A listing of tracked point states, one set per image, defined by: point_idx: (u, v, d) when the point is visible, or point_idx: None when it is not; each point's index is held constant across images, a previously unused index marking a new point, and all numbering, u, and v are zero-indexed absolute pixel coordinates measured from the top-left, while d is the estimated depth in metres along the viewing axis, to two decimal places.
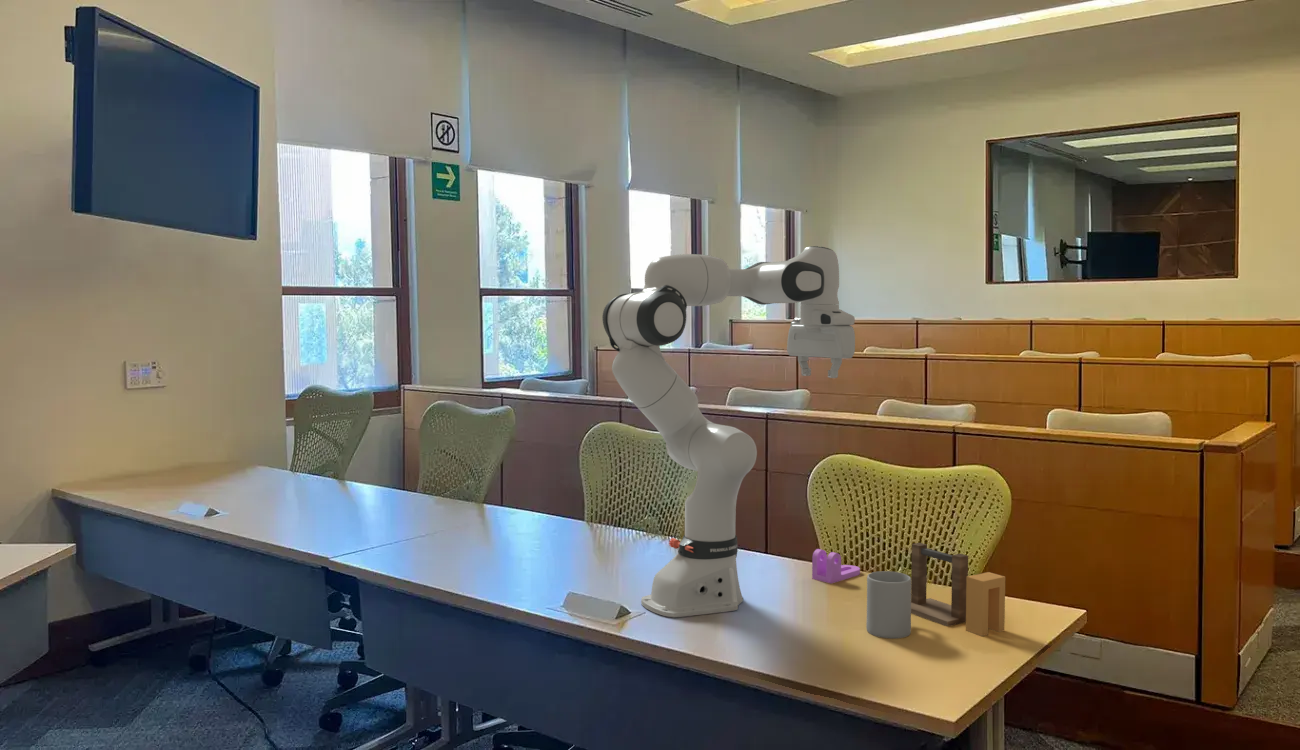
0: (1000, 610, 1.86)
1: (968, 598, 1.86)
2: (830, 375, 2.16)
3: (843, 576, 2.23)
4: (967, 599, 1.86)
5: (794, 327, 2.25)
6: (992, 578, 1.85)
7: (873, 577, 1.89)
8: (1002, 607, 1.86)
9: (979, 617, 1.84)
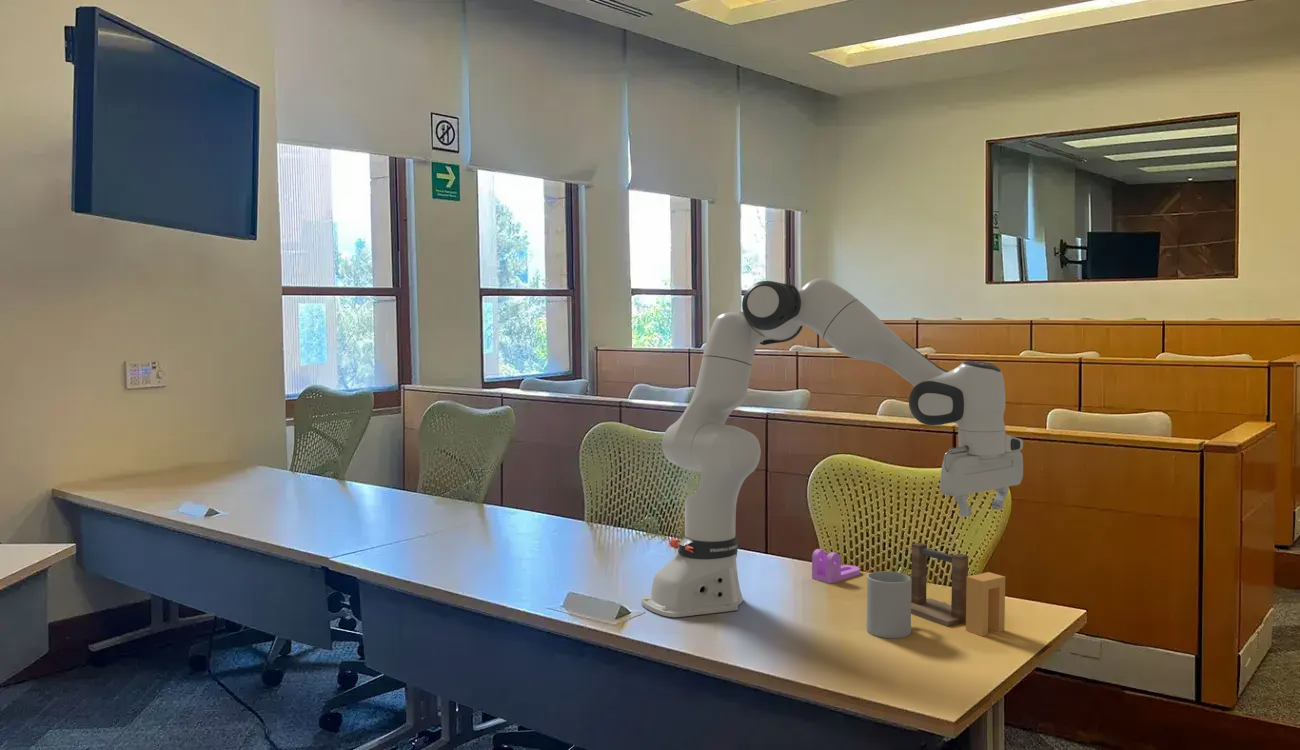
0: (1000, 610, 1.86)
1: (968, 598, 1.86)
2: (1002, 506, 1.89)
3: (843, 576, 2.23)
4: (967, 599, 1.86)
5: (963, 461, 1.82)
6: (992, 578, 1.85)
7: (873, 577, 1.89)
8: (1002, 607, 1.86)
9: (979, 617, 1.84)
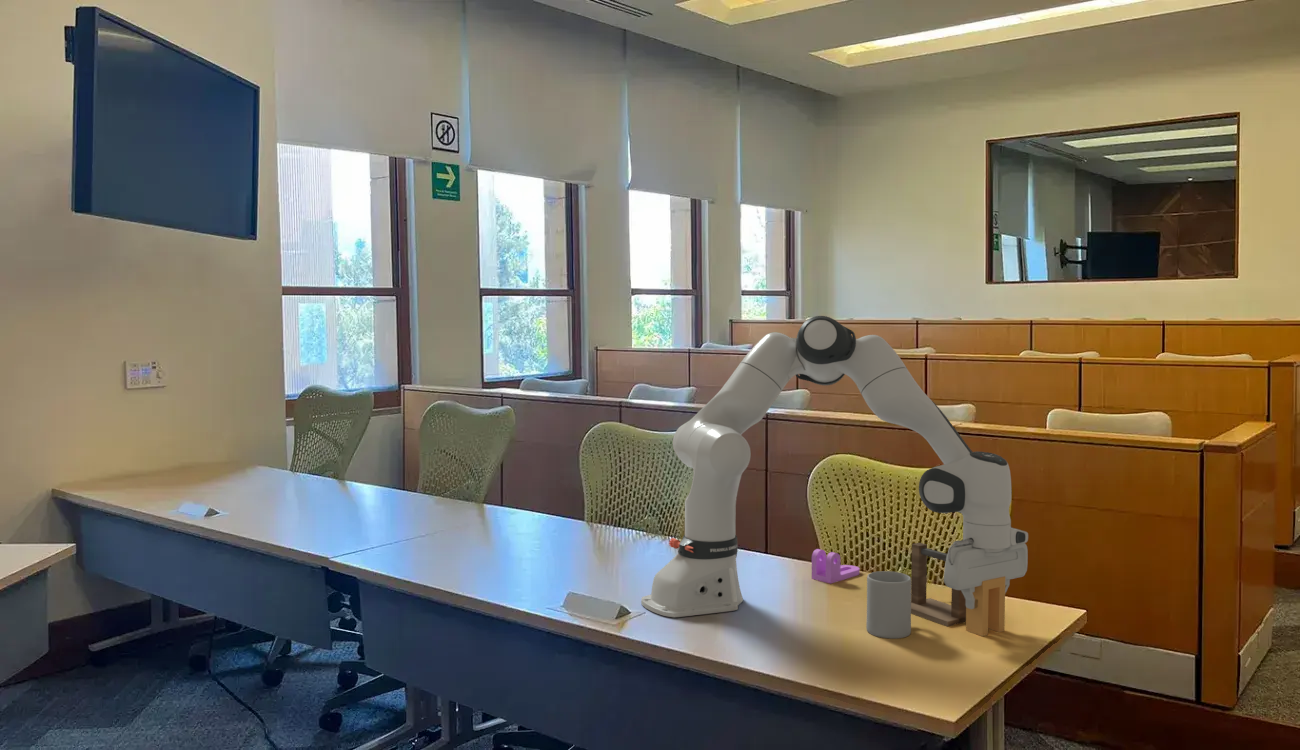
0: (1000, 610, 1.86)
1: None
2: None
3: (842, 576, 2.23)
4: None
5: (968, 554, 1.80)
6: None
7: (873, 577, 1.89)
8: (1002, 607, 1.86)
9: (980, 617, 1.84)
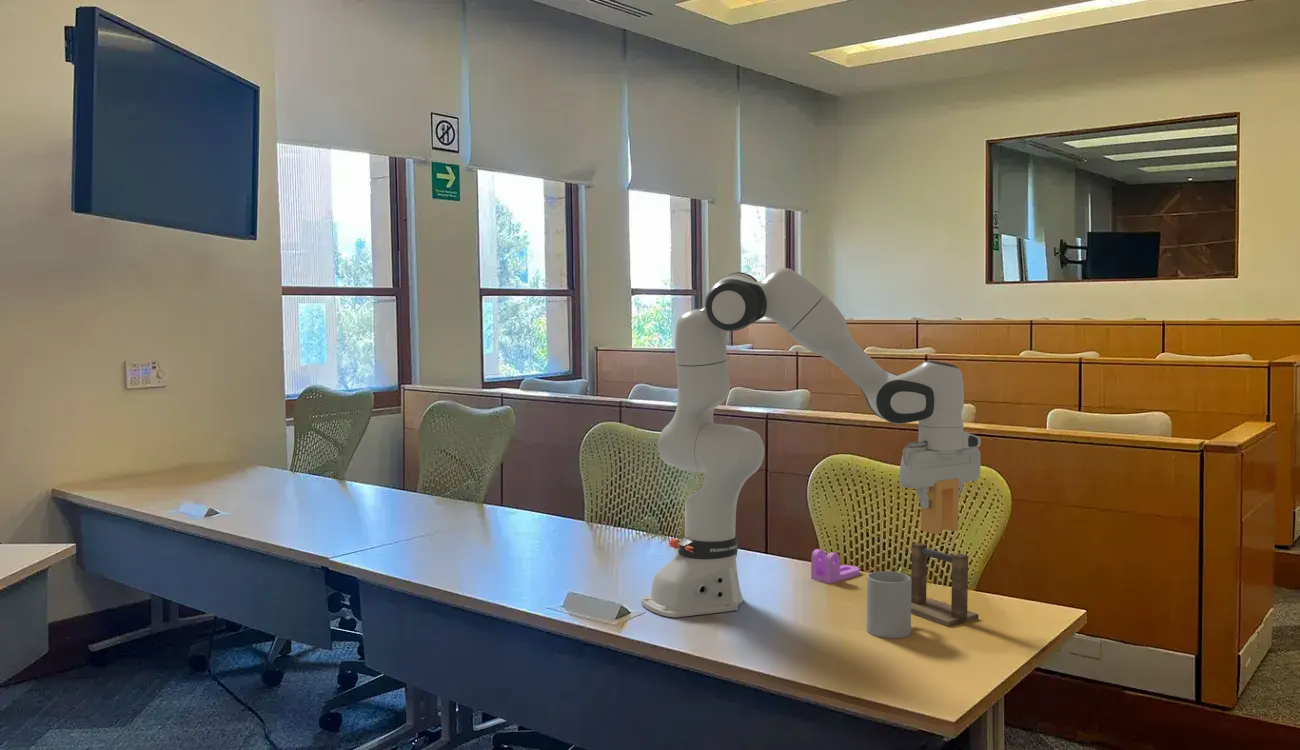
0: (954, 510, 1.95)
1: None
2: None
3: (842, 576, 2.23)
4: None
5: (922, 454, 1.90)
6: None
7: (873, 577, 1.89)
8: (956, 508, 1.95)
9: (933, 516, 1.93)
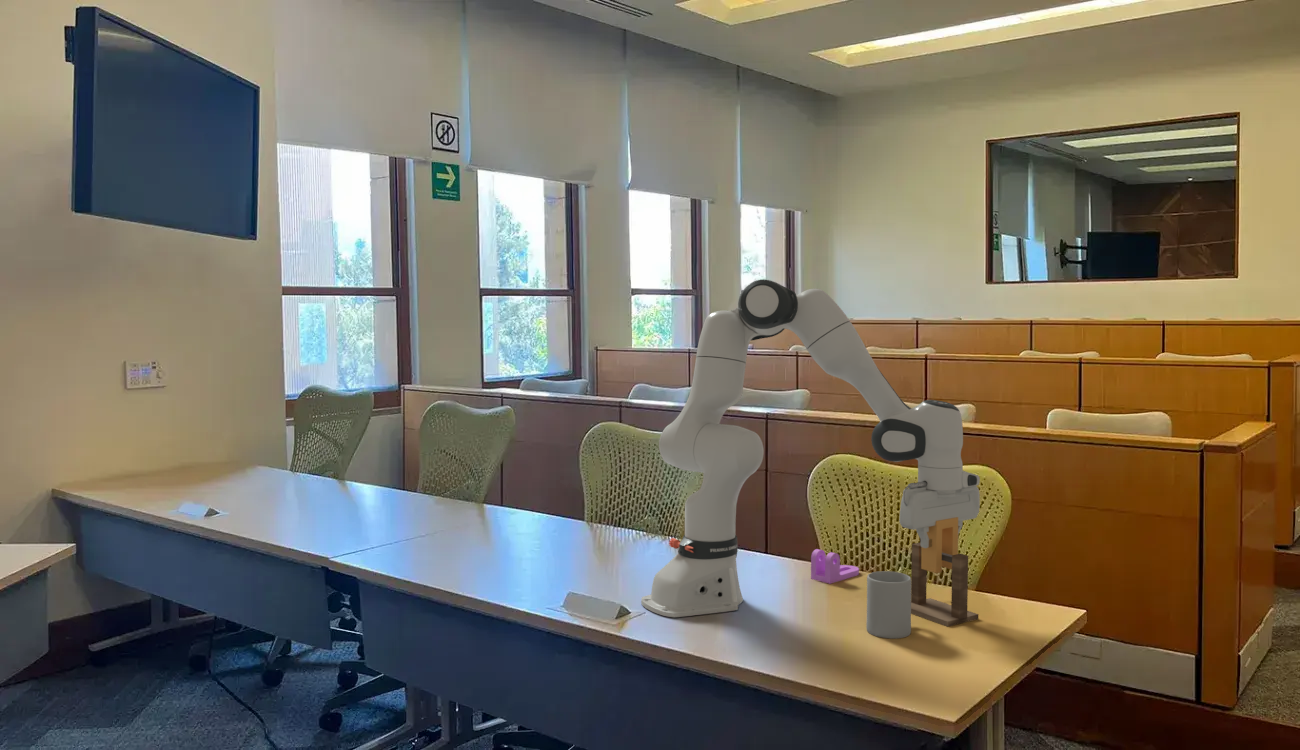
0: (953, 549, 1.96)
1: None
2: None
3: (842, 576, 2.23)
4: None
5: (922, 495, 1.91)
6: None
7: (873, 577, 1.89)
8: (955, 546, 1.96)
9: (934, 555, 1.94)
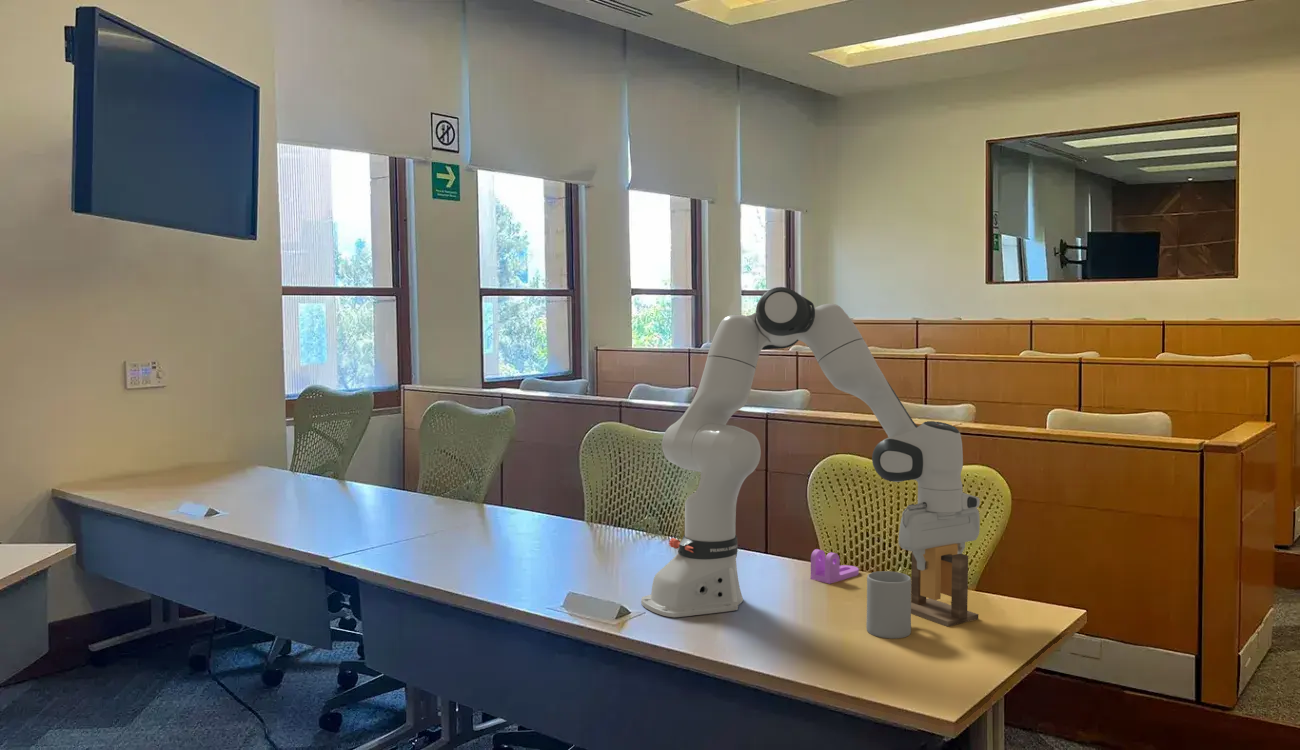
0: None
1: None
2: None
3: (841, 576, 2.23)
4: None
5: (921, 517, 1.90)
6: (945, 545, 1.95)
7: (873, 577, 1.89)
8: None
9: (932, 582, 1.94)
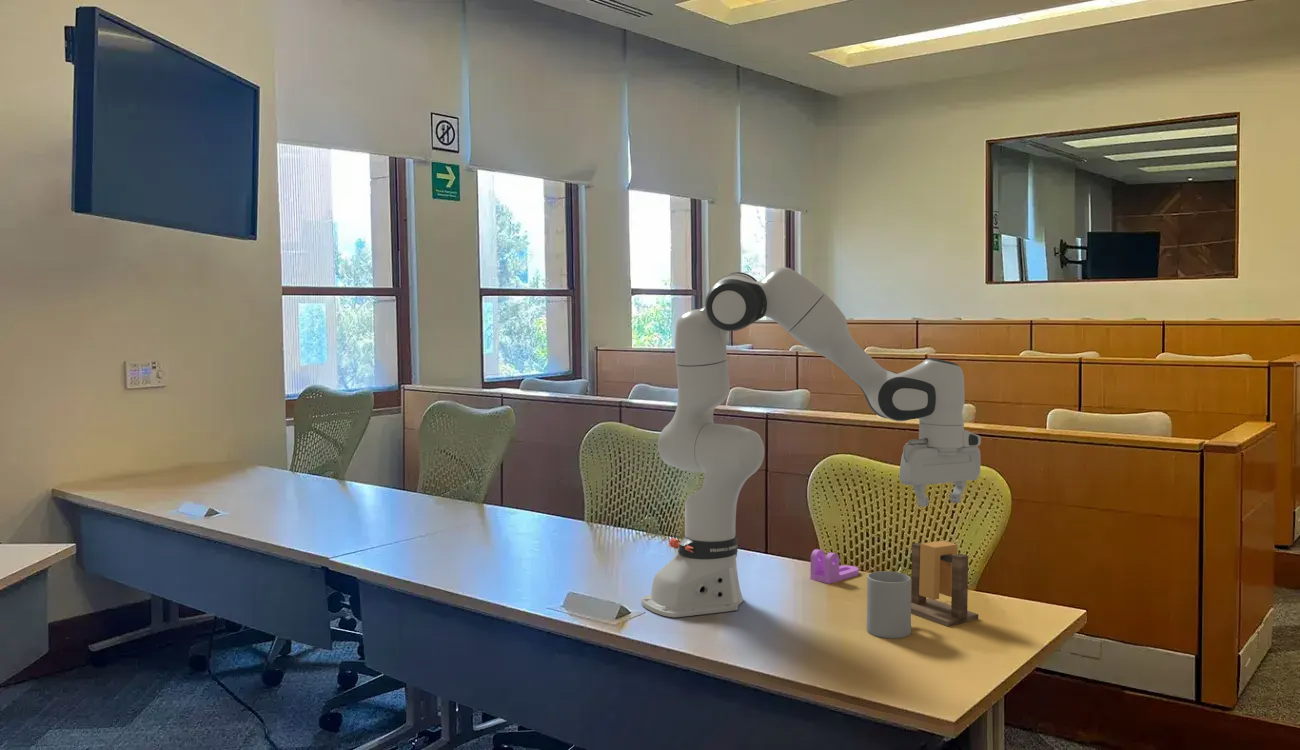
0: None
1: (921, 564, 1.96)
2: (959, 500, 1.97)
3: (841, 576, 2.23)
4: (921, 565, 1.96)
5: (922, 452, 1.90)
6: (944, 545, 1.95)
7: (873, 577, 1.89)
8: None
9: (931, 582, 1.94)
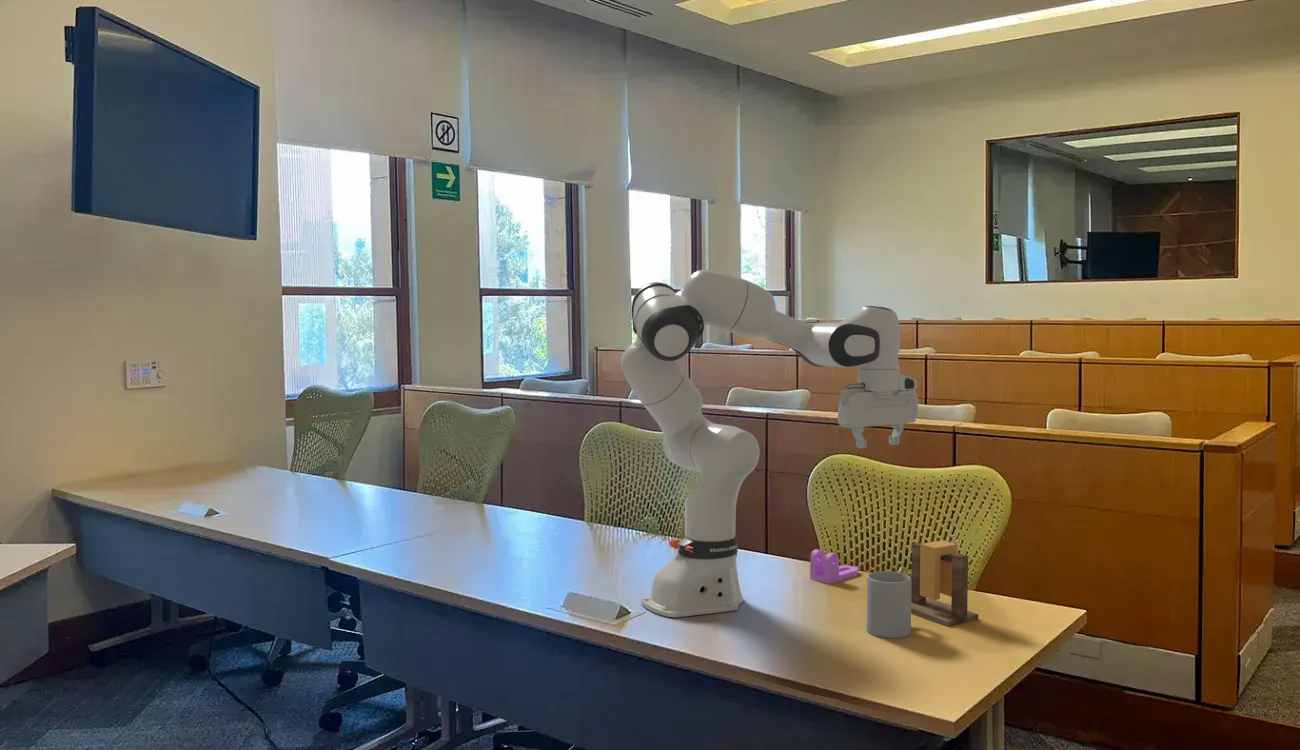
0: None
1: (922, 564, 1.96)
2: (897, 442, 2.05)
3: (841, 576, 2.23)
4: (921, 565, 1.96)
5: (859, 395, 1.98)
6: (944, 545, 1.95)
7: (873, 577, 1.89)
8: None
9: (932, 582, 1.94)
